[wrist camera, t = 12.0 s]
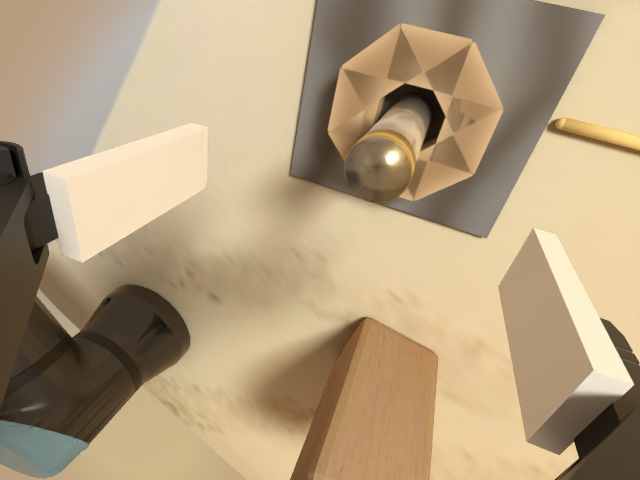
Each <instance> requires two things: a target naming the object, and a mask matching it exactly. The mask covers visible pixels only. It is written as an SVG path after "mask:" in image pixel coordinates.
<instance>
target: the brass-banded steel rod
mask: <svg viewBox="0 0 640 480" xmlns="http://www.w3.org/2000/svg"><path fill="white" fill-rule="evenodd" d="M432 115H433V106H432V103H431V101H430V99H429V98H428V97H427V96H426V95H424V94H423V93H420V92H410V93H407V94H405V95H403V96H402V97H401V98H400V99H399V100H398V101H397V102H396V103H395V104H394V105H393V106H392V107H391V108H390V109H389V111H388V112H387V113H386V114H385V115H384V116H383V117H382V118H381V119H380V120H379V121H378V122H377V123H376V124H375V125H374V126H373V127H372V128H371V129H370V131H369V132H368V133H367V134H365V135H364V136H363V137H362V138H361V139H360V140H359V141H358V142H357V143H356V144H355V145H354V146H353V147H352V148H351V149H350V151H349V152H348V154H347V156H346V159H345V163H344V174H345V178H346V181H347V183H348V185H349V187H350V188H351V190H352V191H353V192H354V193H355V194H356V195H357V196H359V197H360V198H362V199H364V200H366V201H369V202H374V203H384V202H389V201H392V200H394V199H396V198H398V197H399V196H400V195H401V194H403V193H404V191H405V190H406V189H407V187H408V186H409V183H410V181H411V178H412V175H413V172H414V169H415V164H416V161H417V158H418V155H419V152H420V149H421V147H422V144H423V141H424V138H425V135H426V132H427V129H428V127H429V124H430V121H431V118H432Z"/></svg>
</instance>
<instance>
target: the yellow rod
mask: <svg viewBox="0 0 640 480" xmlns="http://www.w3.org/2000/svg"><path fill="white" fill-rule="evenodd" d="M555 126H556V128H557V129H559V130H563V131H567V132H571V133H574V134H578V135H582V136H586V137H590V138H593V139H597V140H601V141H605V142H609V143H612V144H616V145H620V146H624V147H628V148H631V149H635V150H639V151H640V137H639V136H635V135H631V134H627V133H623V132H619V131H615V130H612V129H608V128H604V127H600V126H596V125H592V124H588V123H584V122H580V121H577V120H573V119H569V118H565V117H563V118H560V119H558V120H557V121H556V123H555Z"/></svg>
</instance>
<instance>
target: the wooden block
mask: <svg viewBox="0 0 640 480" xmlns="http://www.w3.org/2000/svg"><path fill="white" fill-rule="evenodd" d="M437 368H438V357H437V355H436V354H435V353H434V352H433V351H431V350H429V349H428V348H426V347H424V346H422V345H420V344H418V343H416V342H415V341H413V340H411V339H409V338H407V337H405V336H403V335H402V334H400V333H398V332H396V331H394V330H392V329H390V328H389V327H387V326H385V325H383V324H381V323H379V322H377V321H376V320H374V319H371V318H366V319H364V320H363V321H362V322H361V323H360V324H359V326H358V327H357V329H356V330H355V332H354V334H353V335H352V337H351V338H350V340H349V341H348V343H347V344H346V346H345V347H344V349H343V350H342V352H341V353H340V355H339V357H338V358H337V360H336V362H335V364H334V367H333V370H332V372H331V375H330V377H329V380H328V383H327V385H326V388H325V390H324V393H323V396H322V398H321V401H320V403H319V406H318V409H317V411H316V414H315V416H314V419H313V422H312V424H311V427H310V429H309V432H308V435H307V437H306V440H305V443H304V445H303V448H302V450H301V453H300V456H299V458H298V461H297V463H296V466H295V469H294V471H293V474H292V476H291V479H290V480H430V466H431V452H432V438H433V424H434V410H435V396H436V382H437Z"/></svg>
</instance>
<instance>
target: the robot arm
mask: <svg viewBox="0 0 640 480" xmlns="http://www.w3.org/2000/svg"><path fill="white" fill-rule="evenodd" d="M207 151H208V127H204V126H201V125H198V124H195V123H190V124H187V125H183V126H180V127H177V128H174V129H171V130H168V131H165V132H162V133H159V134H156V135H152V136H149V137H146V138H143V139H140V140H137V141H134V142H131V143H128V144H125V145H122V146H118V147H115V148H112V149H109V150H106V151H103V152H100V153H97V154H94V155H91V156H87V157H84V158H81V159H78V160H75V161H72V162H69V163H66V164H63V165H60V166H57V167H53V168H51V169H47V170H44V171H42V172H41V173H38V174H35V175H32V176H30V174H29V171H28V166H27V163H26V159H25V155H24V151H23V148H22V147H21V146H20V145H18V144H15V143H11V142H4V141H0V464H2V465H4V466H6V467H8V468H10V469H13V470H15V471H18V472H20V473H23V474H26V475H29V476H32V477H37V478H48V477H52V476H54V475H56V474H58V473H60V472H61V471H63V470H64V469H65V468H66V467H67V466H68V465H69V464H70V462H72V461H73V460H74V459H75V458H76V457H77V456H78V455H79V454H80V453H81V452H82V451H83V450H85V449H86V448H87V447H88V446H89V443H90V442H91V441H92V440H93V439H94V438H95V437H96V436H97V434H98V433H99V432H100V431H101V430H102V429H103V428H104V427H105V426H106V425H107V423H108V422H109V421H110V420H111V419H112V418H113V417H114V416H115V414H116V413H117V412H118V411H119V410H120V409H121V408H122V407H123V405H124V404H125V403H126V402H127V401H128V400H129V399H130V398H131V397H132V395H133V394H134V393H135V392H136V391H137V390H138V389H139V388H140V386H142V385H143V384H144V383H145V382H147V381H148V380H150V379H152V378H153V377H155V376H157V375H158V374H160V373H161V372H163V371H165V370H166V369H168V368H169V367H171V366H173V365H175V364H176V363H177V362H178V361H179V360H180V359H181V358H182V357H183V355H184V354H185V353H186V352H187V350H188V348H189V345H190V337H189V332H188V329H187V327H186V325H185V323H184V321H183V319H182V318H181V316H180V315H179V314H178V312H177V311H176V310H175V309H174V308H173V307H172V306H171V305H170V304H169V303H168V302H167V301H166V300H164V299H163V298H162V297H160V296H159V295H157V294H156V293H154V292H152V291H150V290H148V289H146V288H143V287H140V286H136V285H124V286H120V287H118V288H117V289H116V290H114V291H113V292H112V293H110V294H109V295H108V296H106V297H105V298H104V300H103V301H102V303H101V304H100V305H99V307H98V308H97V310H96V311H95V313H94V314H93V315H92V317H91V318H90V320H89V321H88V323H87V324H86V326H85V327H84V328H83V329H82V330H81V331H80V332H79V333H78V334H76V335H75V336H74V337H73V338H72V337H71V336H70V335H69V334H68V333H67V332H66V330H65V329H64V328H63V327H62V326H61V325H60V323H59V322H58V321H57V320H56V319H55V317H54V316H53V315H52V314H51V313H50V311H49V310H48V309H47V308H46V307H45V306H44V304H43V303H42V302H41V301H40V300H39V299H38V297H37V296H36V294H37V291H38V288H39V285H40V282H41V279H42V275H43V272H44V269H45V266H46V263H47V259H48V256H49V249H48V245H47V243H49V242H51V241H53V240H55V239H57V238H58V241H59V245H60V250H61V254H62V255H64V256H67V257H69V258H72V259H74V260H77V261H79V262H82V263H83V262H84V261H86V260H88V259H89V258H91V257H93V256H94V255H96V254H98V253H99V252H101V251H103V250H104V249H106V248H107V247H109V246H111V245H112V244H114V243H116V242H117V241H119V240H121V239H122V238H124V237H126V236H127V235H129V234H131V233H132V232H134V231H136V230H137V229H139V228H141V227H142V226H144V225H145V224H147V223H149V222H150V221H152V220H154V219H155V218H157V217H159V216H160V215H162V214H164V213H165V212H167V211H169V210H170V209H172V208H174V207H175V206H177V205H179V204H180V203H182V202H184V201H185V200H187V199H188V198H190V197H192V196H193V195H195V194H197V193H198V192H200V191H202V190H203V189H205V188H206V186H207ZM498 287H499V293H500V298H501V304H502V309H503V315H504V320H505V326H506V331H507V337H508V342H509V348H510V353H511V359H512V364H513V370H514V375H515V381H516V386H517V392H518V397H519V403H520V408H521V414H522V419H523V425H524V430H525V436H526V441H527V442H528V443H531V444H533V445H536V446H538V447H541V448H543V449H546V450H548V451H551V452H553V453H556V454H558V455H560V454H561V453H562V452H563V451H564V450H565V449H566V448H567V447H568V446H570V445H571V444H572V443H573V442H575V446H576V449H577V452H578V456H579V459H578V460H576V461H575V462H574V463H573V464H572V465H571V466H570V467H569V468H567V469H566V470H565V471H564V472H563V473H562V474H561V475H559V476H558V477H557V478H556V479H555V480H640V366H639V364H640V363H639V361H638V359H637V358H636V356H635V354H633V353H632V349H631V347H630V345H629V344H628V342H627V340H626V338H625V337H624V336H623V335H622V334H621V333H620V332H619V331H618V330H617V328H616V327H615V326H614V325H613V324H612V323H611V322H610V321H607V320H604V319H601V318H599V316H598V314H597V312H596V310H595V308H594V307H593V305H592V303H591V301H590V299H589V297H588V295H587V293H586V291H585V289H584V287H583V286H582V284H581V282H580V280H579V278H578V276H577V274H576V272H575V270H574V268H573V266H572V265H571V263H570V261H569V259H568V257H567V255H566V253H565V251H564V249H563V247H562V245H561V244H560V242H559V240H558V238H557V236H556V235H555V234H552V233H549V232H545V231H542V230H539V229H536V228H533V229H532V231H531V233H530V235H529V236H528V238H527V240H526V241H525V243H524V245H523V246H522V248H521V250H520V251H519V253H518V255H517V256H516V258H515V260H514V261H513V263H512V265H511V266H510V268H509V270H508V271H507V273H506V275H505V276H504V278H503V280H502V281H501V283H500V285H499V286H498Z"/></svg>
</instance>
